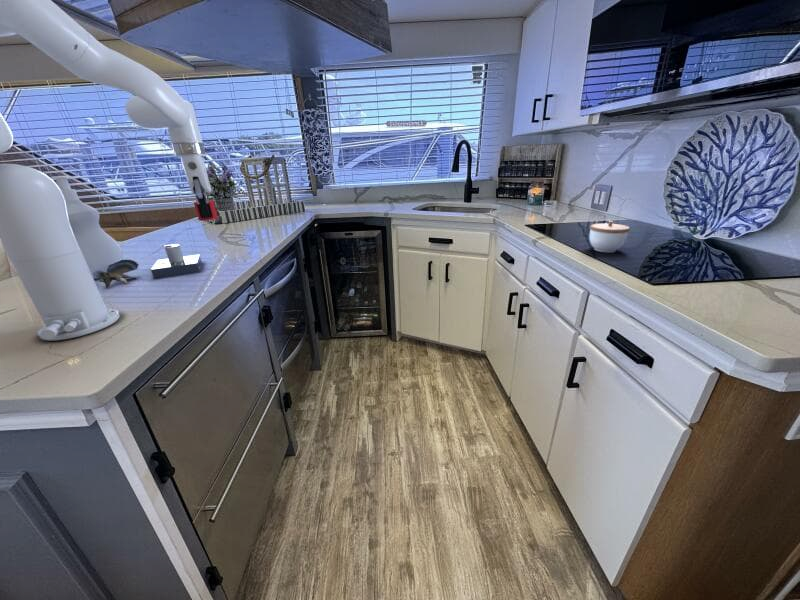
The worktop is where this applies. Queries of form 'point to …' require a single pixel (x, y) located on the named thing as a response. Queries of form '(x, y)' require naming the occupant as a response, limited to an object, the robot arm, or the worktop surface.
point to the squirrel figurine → (116, 272)
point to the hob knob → (174, 253)
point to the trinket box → (608, 236)
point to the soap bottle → (88, 230)
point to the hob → (176, 267)
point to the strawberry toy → (211, 210)
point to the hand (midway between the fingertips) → (207, 215)
